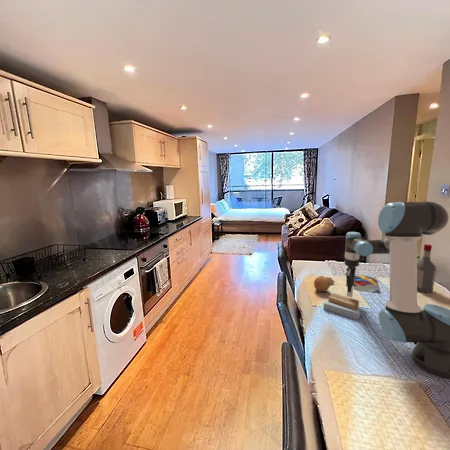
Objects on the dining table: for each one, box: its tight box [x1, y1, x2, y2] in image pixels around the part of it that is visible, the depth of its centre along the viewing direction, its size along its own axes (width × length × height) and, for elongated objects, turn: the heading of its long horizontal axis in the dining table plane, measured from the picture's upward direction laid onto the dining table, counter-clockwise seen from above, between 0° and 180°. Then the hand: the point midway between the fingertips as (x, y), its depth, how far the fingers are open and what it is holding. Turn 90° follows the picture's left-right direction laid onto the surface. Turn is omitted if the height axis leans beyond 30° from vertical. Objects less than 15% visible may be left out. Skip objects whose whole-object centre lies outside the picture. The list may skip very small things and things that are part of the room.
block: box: [327, 292, 360, 311], centre depth 140 cm, size 7×14×6 cm, turn 43°
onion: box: [313, 275, 331, 293], centre depth 162 cm, size 10×10×10 cm
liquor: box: [417, 244, 437, 294], centre depth 156 cm, size 9×9×30 cm
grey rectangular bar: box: [323, 300, 361, 320], centre depth 136 cm, size 3×18×4 cm, turn 50°
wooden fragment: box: [326, 276, 335, 288], centre depth 173 cm, size 26×11×1 cm, turn 137°
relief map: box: [353, 274, 382, 295], centre depth 170 cm, size 25×15×2 cm, turn 155°
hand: (349, 296), depth 147 cm, fingers closed
